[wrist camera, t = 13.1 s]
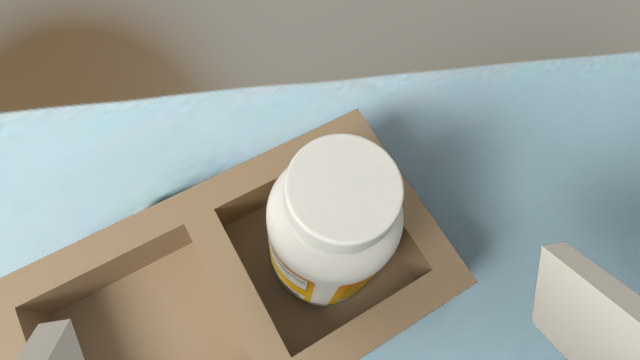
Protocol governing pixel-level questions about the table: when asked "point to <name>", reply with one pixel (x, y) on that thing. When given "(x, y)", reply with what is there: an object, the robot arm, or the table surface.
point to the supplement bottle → (334, 218)
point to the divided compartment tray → (224, 279)
